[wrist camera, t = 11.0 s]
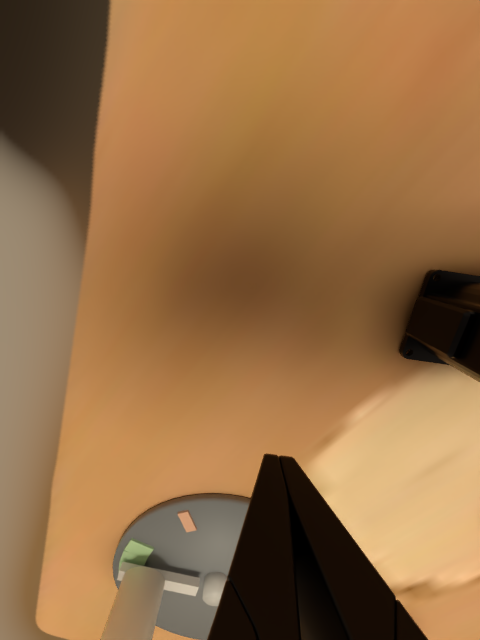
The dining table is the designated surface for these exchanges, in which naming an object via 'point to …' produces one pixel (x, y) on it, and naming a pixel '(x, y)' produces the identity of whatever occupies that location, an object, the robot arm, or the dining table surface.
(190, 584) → the tall cream cylinder
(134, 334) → the dining table surface
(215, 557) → the grey round platter
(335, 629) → the robot arm
